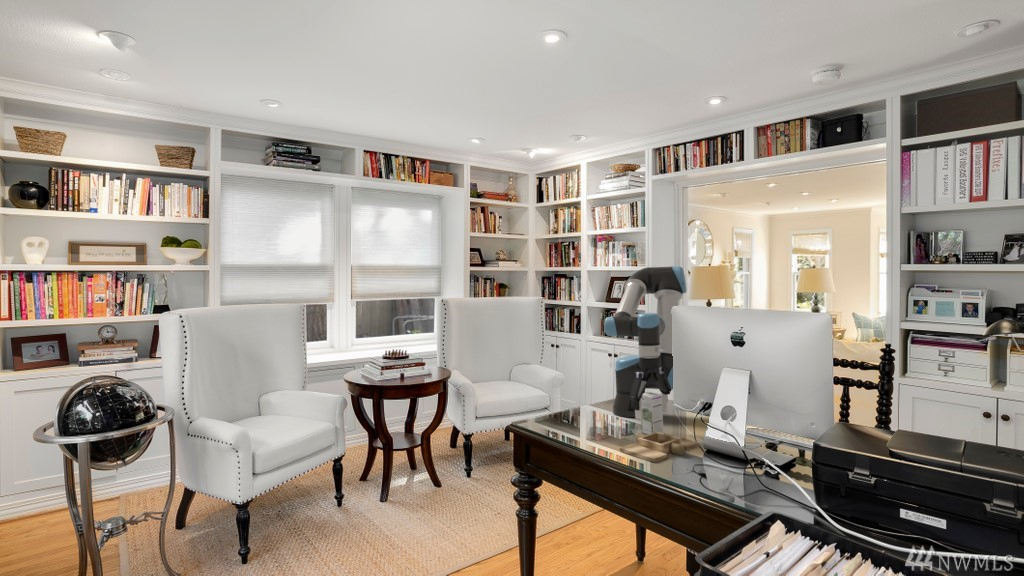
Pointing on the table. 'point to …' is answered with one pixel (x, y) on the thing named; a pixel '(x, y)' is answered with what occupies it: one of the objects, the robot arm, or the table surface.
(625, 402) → the robot arm
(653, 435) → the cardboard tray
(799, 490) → the table surface
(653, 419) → the syrup box
